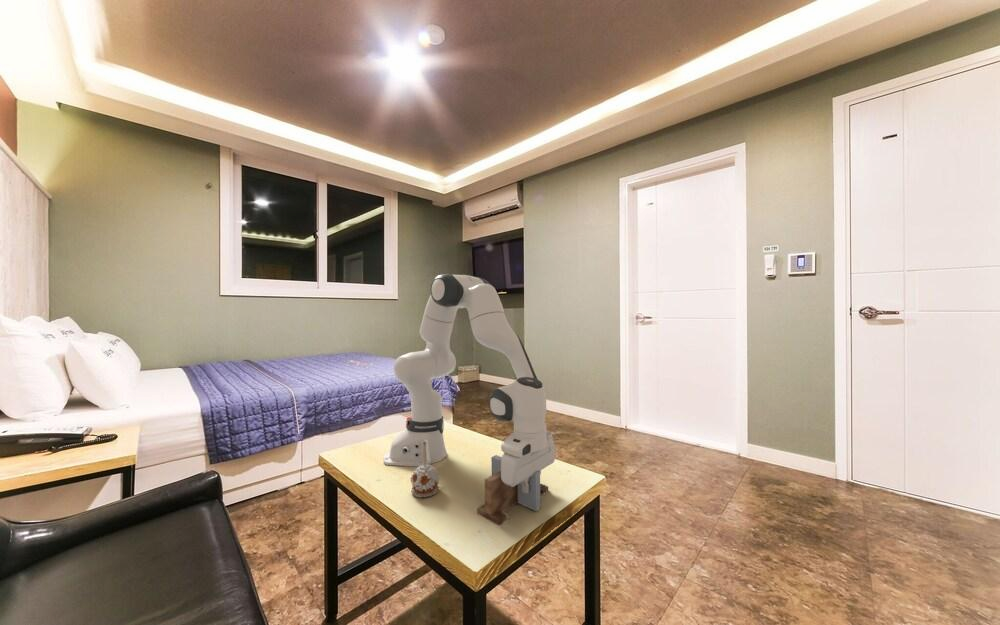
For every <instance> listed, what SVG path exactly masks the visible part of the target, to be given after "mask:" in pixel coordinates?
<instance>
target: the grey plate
mask: <svg viewBox="0 0 1000 625" xmlns="http://www.w3.org/2000/svg"><path fill="white" fill-rule="evenodd" d="M501 459H502V456H500V455H497V454H496V455H493V456H491V459H490V460H491V461H490V462H491V476H492V475H494V474H495V473H497V472H499V471H501ZM527 482H528V484H529V485H531V491H530V492H528V493H524V492H523V491H522V484H521V483H519V484H517V485H518V502H517V504H519V505H522V506H524V507H526V508H528V509H531V510H532V511H535V512H536V511H538V510H539V509H541V494H540V484H541V474H540V471H539V470H537V471H536V472H534V473H533V475H532V476H531V477H529V481H527Z"/></svg>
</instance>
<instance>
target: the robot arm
mask: <svg viewBox="0 0 1000 625" xmlns="http://www.w3.org/2000/svg"><path fill="white" fill-rule="evenodd" d="M459 309H466V311H467V313H468V317H469V318H468V319H469V322H470V328H471V332H472V335H473V337H474V338H475V340H476V341H477V342H478V344H480V345H482V346H484V347H486V348H487V349H488V348H489V349H491V350H495V351H497V352H500V353H502V355H505V356H506V358H507V359H508V360H509V361H510V364H511V367H512V369H513V372H514V374H515V376H516V380H515V381H514V382H512V383H510V384H507V385H503V386H499V387H497V388H494V389H493V390H492V391H491V393H490V395H489V398H488V407H489V411H490V413H491V414H492V416H493V417H494V418H495V419H496V420H498V421H502V422H512V423H513V431H512V432H511V433H510V435H509V436H507V438H506V439H505V440H504V441H503V442H502V443H501V446H500V449H501V452H502V453H503V454H502V456H501V457H502V459H501V479H502V481H503V483H504V484H506V485H509V486H511V487H514V486H516V485H517V484H519V483H521V484H522V491H523V492H524V493H528V492H530V491H531V485H529V484H528V482H527V481H529V477H531V476H532V475H533V473H534V472H536V471H537V470H539V471H540V475H541V474H542V470H544V469H546V468H547V467H549V466H551V465H552V464H554V463H555V460H556V446H555V442H554V439H553V433H552V432H551V431H550V430H549V429H547V423H546V415H547V397H546V396H547V395H546V390H545V385H544V384H543V382H542V381H540V380H539V379H538V377H537V376H536V373H535V370H534V367H533V366H532V363H531V361H530V358H529V355H528V353H527V351H526V348H525V346H524V343H523V342H522V340H521V338H520V336H519V335H518V334H517V333H516V332H515V331H514V330H513V329H512V327H511V325H510V324H509V321H508V318H507V317H506V314H505V309H504V307H503V303H502V301H501V299H500V296H499V294H498V292H497V290H496V288H495V287H494V286H493V285H492V284H491V283H490V282H489V281H488V280H487V279H484V278H482V277H476V276H474V275H473V276H472V275H468V274H451V273H444V274H439V275H437V276H435V277H434V279H433V280H432V283H431V285H430V296H429V298H428V300H427V303H426V305H425V309H424V312H423V316H422V321H421V323H420V328H419V336H420V337H421V339H422V340H423V341H424V342H426V345H425V349H424V350H419V351H410V352H408V353H407V352H406V353H405V354H403V355H400V356H398V357H397V358H396V360H395V361H394V364H393V373H394V377H395V378H396V379H397V380H398V382H400V383H401V384H403V385H404V387H405V388H406V389H407V392H408V393H409V394H408V395H409V398H410V404H411V405H410V407H411V410H410V411H411V415H409V416H407V418H406V421H405V427H406V428H405V429H404V430H403V431H401V432H400V433H399V434H398V435H396V436H395V437H394V438H393V440H392V442H391V445H390V448H389V449H388V451H386V453H385V454H384V456H383V461H384V462H383V464H384V463H385V464H386V466H402V467H404V466H405V467H419V466H420V465H421V466H422V465H423V464H424V453H423V442H426V464H427V465H431V464H434V463H436V462H440V461H442V460H443V459H445V458H446V457H447V455H448V452H447V449H446V444H445V440H444V438H445V437H444V430H445V428H444V427H445V424H444V422H445V420H444V416H443V398H442V394H441V393H439V392H438V391H437V390H435V389H434V388H433V384H432V380H435V379H440V378H443V377H446V376H447V375H449V374H451V373H453V372H454V371H455V369H456V366H457V359H456V355H455V354H454V352H452V350H451V345H450V344H451V343H450V342H451V335H452V332H453V327H454V323H455V320H456V315H457V312H458V311H459ZM385 464H384V465H385Z"/></svg>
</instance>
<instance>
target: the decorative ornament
mask: <svg viewBox="0 0 1000 625" xmlns="http://www.w3.org/2000/svg"><path fill="white" fill-rule="evenodd" d="M423 453H424V464H423V465H422V466H421V465H420V466H417V467H416V469H414V470H413V472H412V474H411V477H410V483H411V484H412V485H411V487H412V488H411V491H410V492H411V494H412V495H413V496H414V497H417V498H427V497H430V496H431V497H432V496H433V495H437V493H438V492H439V490H440V487H439V483H440V482H439V480H440V478H439V474H440V473H439V472H438V469H437V468H436V467H434V466H433V465H431V464H429V465H427V464H426V442H423Z"/></svg>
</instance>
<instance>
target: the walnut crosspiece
mask: <svg viewBox="0 0 1000 625" xmlns="http://www.w3.org/2000/svg"><path fill="white" fill-rule="evenodd" d="M547 492H549V486H548V485H545V484H543V483H540V495H545V493H547ZM516 504H518V485H516V486H514V487H511V486H509V485H506V484H504V483H503V481H502V479H501V471H499V472H497V473H495V474H494V475H492V474H491V475H489V476H488V477H486V478H485V479H484V503H483V504H482V505H480V506H479V507H477V508H476V513H477V514H478V515H480V516H482V517H485V519H488V520H489V521H492V522H494V523H495V524H498V525H499V526H500V525H501V524H503V523H504V522H505V521H507V520H508V514H507V513H504V512H505V511H506V510H508V509H509V508H511V507H513V506H514V505H516Z"/></svg>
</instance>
